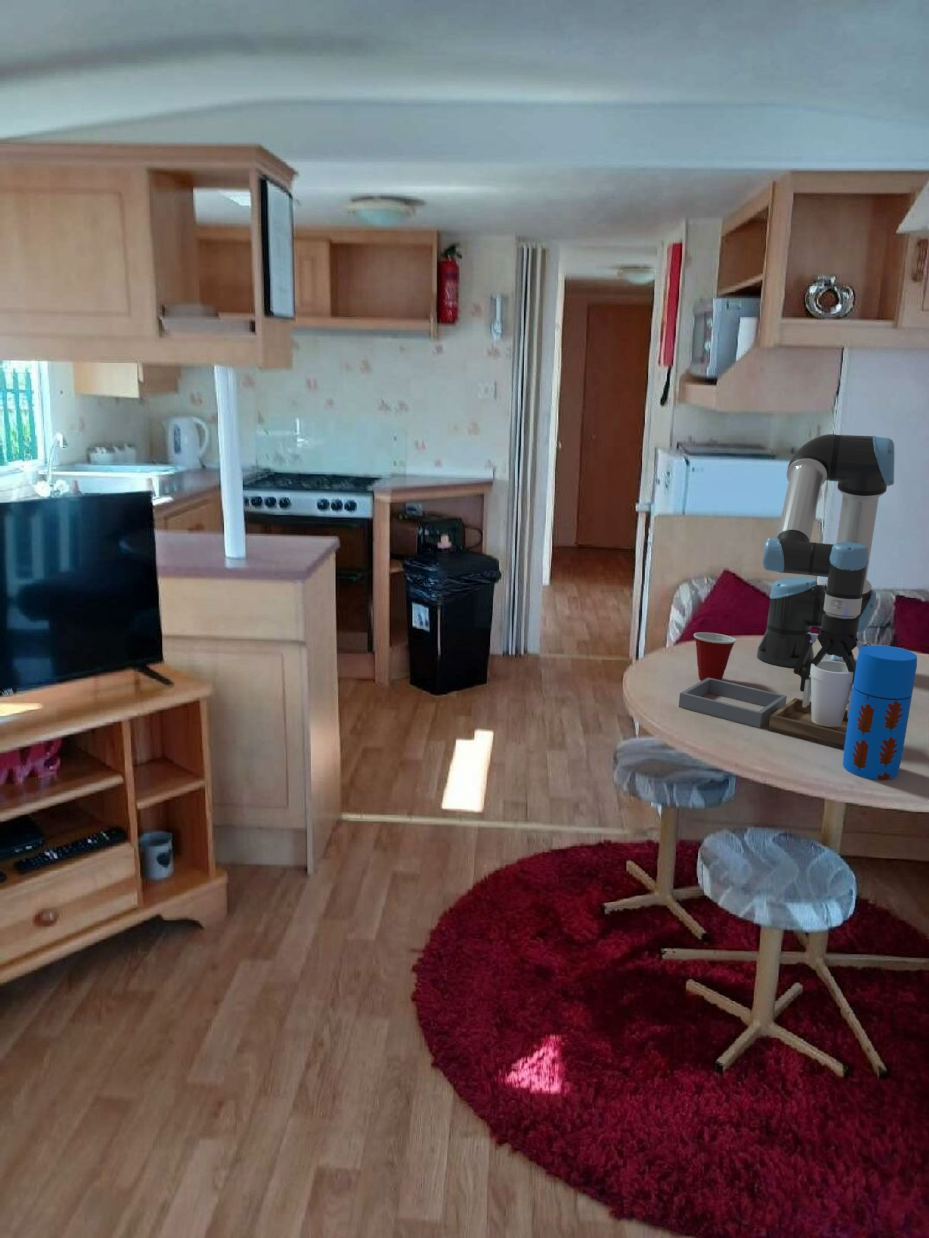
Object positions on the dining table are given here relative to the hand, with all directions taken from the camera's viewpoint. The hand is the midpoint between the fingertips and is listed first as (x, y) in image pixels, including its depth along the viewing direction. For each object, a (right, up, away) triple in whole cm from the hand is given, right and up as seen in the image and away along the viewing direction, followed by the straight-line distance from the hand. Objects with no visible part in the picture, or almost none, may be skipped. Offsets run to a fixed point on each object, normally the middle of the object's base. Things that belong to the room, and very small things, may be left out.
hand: (827, 710), depth 213 cm
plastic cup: (-17, +5, +35) cm, 39 cm away
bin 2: (0, -5, +1) cm, 5 cm away
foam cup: (0, -3, +1) cm, 3 cm away
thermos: (+2, -10, -18) cm, 21 cm away
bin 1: (-17, -1, +14) cm, 23 cm away
